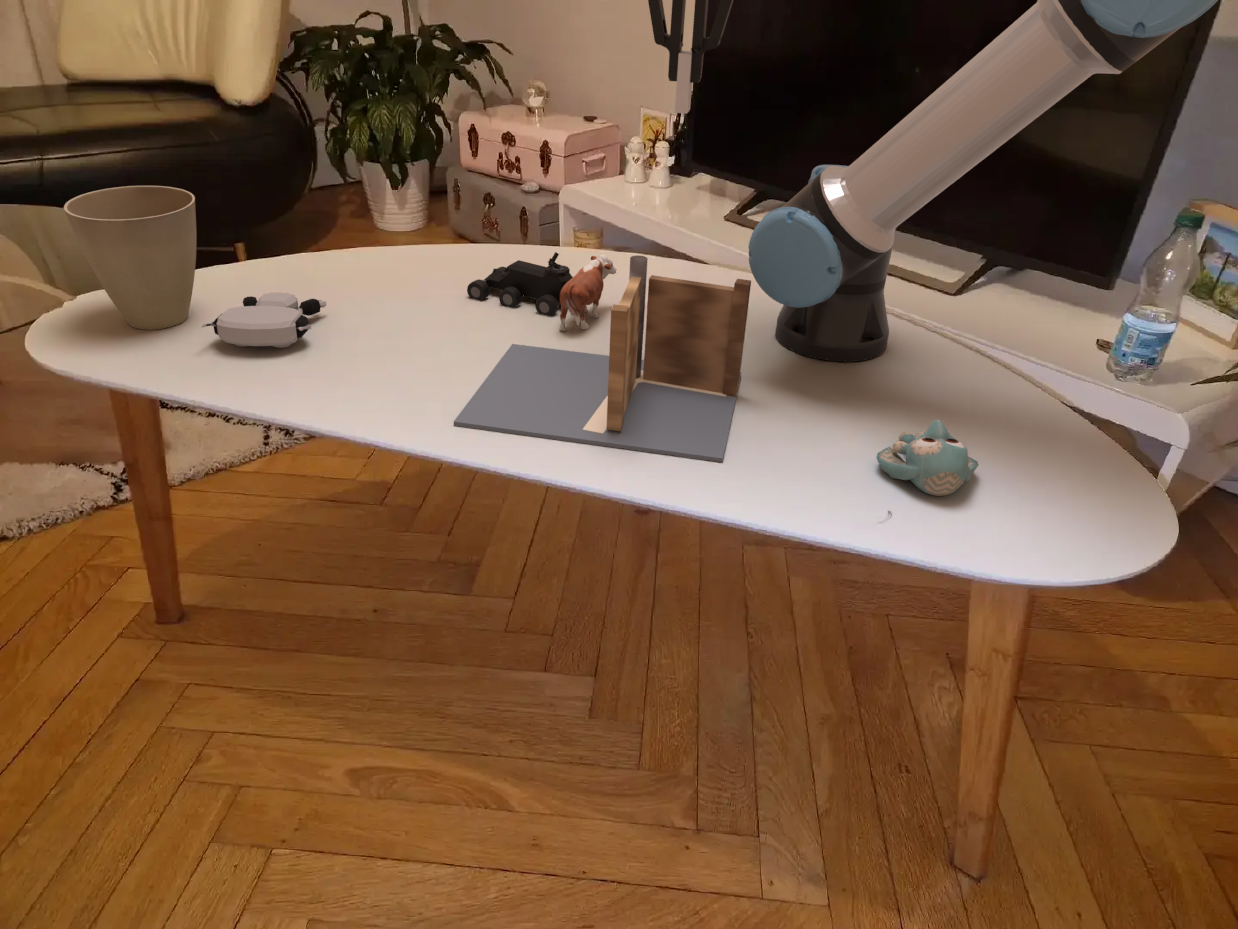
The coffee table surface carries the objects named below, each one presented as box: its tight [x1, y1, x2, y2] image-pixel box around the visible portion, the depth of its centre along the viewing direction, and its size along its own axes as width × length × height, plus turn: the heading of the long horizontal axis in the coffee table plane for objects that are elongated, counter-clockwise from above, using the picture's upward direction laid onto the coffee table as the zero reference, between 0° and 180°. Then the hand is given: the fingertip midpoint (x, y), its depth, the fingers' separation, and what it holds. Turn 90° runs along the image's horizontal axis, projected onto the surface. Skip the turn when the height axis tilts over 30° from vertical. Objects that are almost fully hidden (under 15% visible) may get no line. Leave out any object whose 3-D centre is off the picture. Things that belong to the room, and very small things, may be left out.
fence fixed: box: [628, 255, 752, 398], centre depth 110 cm, size 14×2×16 cm, turn 73°
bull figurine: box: [559, 254, 617, 332], centre depth 129 cm, size 4×13×8 cm, turn 155°
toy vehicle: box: [466, 251, 574, 317], centre depth 135 cm, size 8×15×9 cm, turn 65°
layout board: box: [453, 343, 742, 463], centre depth 110 cm, size 30×22×1 cm
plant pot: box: [63, 185, 197, 331], centre depth 121 cm, size 15×15×16 cm
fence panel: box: [607, 276, 641, 431], centre depth 104 cm, size 13×2×14 cm, turn 171°
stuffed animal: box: [876, 419, 979, 497], centre depth 97 cm, size 11×7×12 cm
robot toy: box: [201, 292, 328, 349], centre depth 122 cm, size 12×4×15 cm
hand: (682, 110), depth 112 cm, fingers closed
